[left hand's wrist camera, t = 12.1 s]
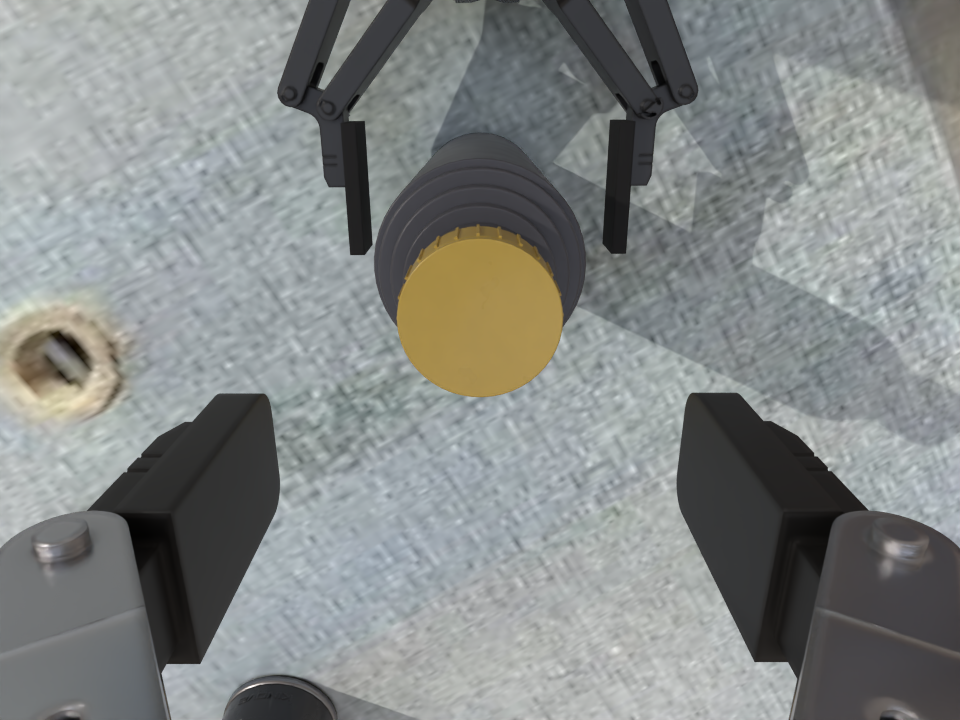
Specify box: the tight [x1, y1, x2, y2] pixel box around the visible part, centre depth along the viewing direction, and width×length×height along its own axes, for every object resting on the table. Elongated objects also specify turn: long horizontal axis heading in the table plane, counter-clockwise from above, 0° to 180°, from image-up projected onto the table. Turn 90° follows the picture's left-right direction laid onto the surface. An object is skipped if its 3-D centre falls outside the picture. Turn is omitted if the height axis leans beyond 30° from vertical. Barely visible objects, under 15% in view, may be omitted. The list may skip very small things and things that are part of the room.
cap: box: [396, 224, 564, 397], centre depth 19 cm, size 4×4×2 cm
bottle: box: [374, 133, 586, 327], centre depth 30 cm, size 7×7×25 cm
